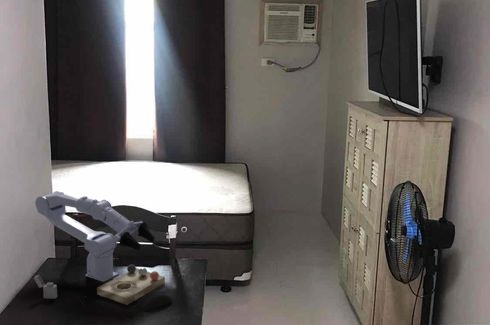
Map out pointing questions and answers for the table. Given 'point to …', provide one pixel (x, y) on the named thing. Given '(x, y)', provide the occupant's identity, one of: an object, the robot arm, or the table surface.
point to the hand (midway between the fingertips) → (146, 243)
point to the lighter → (47, 288)
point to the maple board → (129, 287)
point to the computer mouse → (153, 300)
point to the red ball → (154, 275)
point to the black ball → (131, 268)
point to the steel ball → (142, 272)
